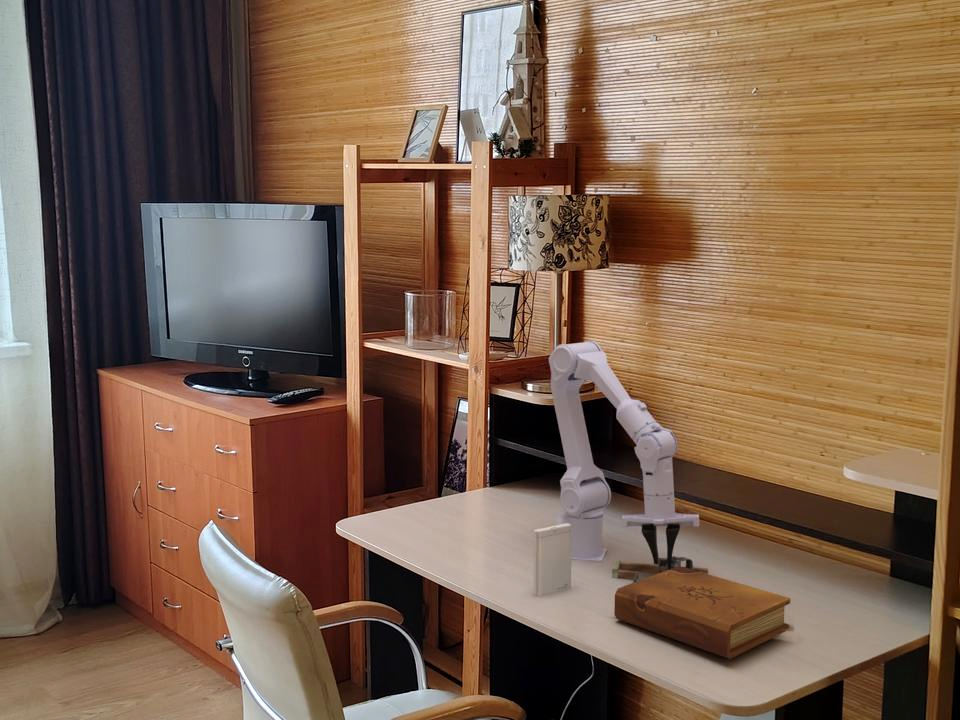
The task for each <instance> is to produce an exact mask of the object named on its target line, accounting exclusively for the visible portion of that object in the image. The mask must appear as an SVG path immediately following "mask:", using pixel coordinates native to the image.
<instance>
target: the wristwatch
mask: <svg viewBox="0 0 960 720" xmlns="http://www.w3.org/2000/svg"><path fill="white" fill-rule="evenodd" d="M679 561H681V562H685V566H684V567H685V568H689V569H692V570H693V568H694V567H695V566H694V564H693V563H694V562H693V560H692V559H690V558H687V557H685V556H679V557H678V556H673V555H672V563H671V564H667V562H666V571H667V570H669V569H672V568H675V567H677V566H678V562H679Z"/></svg>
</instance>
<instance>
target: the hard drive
mask: <svg viewBox="0 0 960 720" xmlns="http://www.w3.org/2000/svg"><path fill="white" fill-rule="evenodd" d="M571 589H572V559H571V524H568V523H566V524H561V525H557V524H555V525H552V526H547V527H543V528H537V529H534V530H533V595H534V596H535V597H537V598H538V597H543V596H547V595H551V594H556V593H559V592H563V591H567V590H571Z"/></svg>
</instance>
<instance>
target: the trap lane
mask: <svg viewBox="0 0 960 720" xmlns="http://www.w3.org/2000/svg"><path fill="white" fill-rule="evenodd" d="M658 558H659V562H658V564H654V563H651V564H650V563H637V562H626V561H625V562H623V561H622V559H615V561H614V564H613V566H612V571H611V575H612V577H611V578H614V579H620V580H627V581H632V583H634V582H637V581H639V580H642V579H643V578H642V579H641V578H639V577H640V576H639V575H640V574H639V573H644V574H645V573H648V574H653V575H656V574H658V573H661V572H664V571H666V562H667V557H666V558H665V557H658ZM681 562H682V561H679V562H678V566H681V564H682V563H681ZM693 567H694V568H693V570H695V571H699V572H702V573H706V574H709V568H707V567H706V568H705V567H695V566H693Z"/></svg>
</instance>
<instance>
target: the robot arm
mask: <svg viewBox="0 0 960 720" xmlns="http://www.w3.org/2000/svg"><path fill="white" fill-rule="evenodd" d="M607 355H608V354H606V352H604V351H603V349H602V347H601V346H600V345H599V344H598V343H597V342H596V341H593V340H587V341H584V342H575V343H568V344H566V343H561V344H558V345H556V347H554V349H553V350H552V352H551V354H550V355H549V357H548V364H549V367H550V368H549V369H550V373H551V375H550V390H551V391H550V392H551V394H552V399H553V400H552V401H553V405H554V411H555V414H556V415H555V416H556V420H557V424H558V425H557V426H558V430H559V434H560V438H561V445H562V449H563V455H564V460H565V464H566V472H564V474H563V475H562V476H561V479H560V480H559V482H560V483H559V484H560V495H559V497H560V498H559V501H560V504H561V507H562V509H563V510H564V511H562V512H561V511H560V512H558V515H557V519H556V525H561V524H566V523H568V524H571V560H580V561H587V562H597V563H602V562H603V560H604V558H605V556H606V553H607V548H603V545H604V513H605V512H606V507H607V506H608V505H610V502H611V499H612V491H611V488H610V486H609V484H608V482H607V481H606V479H605V475H604V472H603V470H601V469H600V468H599V467H598V466H596V465H595V464H594V458H593V454H592V450H591V449H592V448H591V445H590V440H589V434H588V430H587V426H586V420H585V415H584V410H583V405H582V402H581V396H580V391H579V389H580V388H581V387H582V385H583V383H584V382H585V381H591V382H592V383H593V384H594V385H595V386H596V387H597V388H598V389H599V391H600V392H601V393H602V394H603V395H604V396H605V398H606V399H608V401H609V402H610V403H611V404H612V405H613V407H614V408H615V409H616V416H615V417H616V420H617V421H618V423H619V424H620V425H621V426H622V428H623V429H624V430H625V432H626V433H627V434H628V436H629V437H630V438H631V440H632V441H633V442H634V443H635V444H636V446H634V447H633V449H634V453H635V455H636V457H637V459H638V460H639V464H640V469H641V470H642V482H643V485H642V486H643V499H644V500H643V501H644V503H643V504H644V513H640V514H623V515H622V517H621V522H622V523H621V524H622V525H621V526H622V528H628V527H641V530H640V531H641V534H642V536H643V537H644V539H645V542H646V543H647V545H648V547H649V551H650V553H651V556H652V560H653V564H654V565H656V564H658V562H659V558H660V557H659V551H658V550H659V549H658V538H657V535H658V534H657V527H666V528H665V535H666V536H665V537H666V550H667V551H666V558H667V564H671V563H672V557H673V553H674V552H673V551H674V547H675V543H676V540H677V537H678V535H679V532H680V529H681V527H684V526H685V527H689V526H690V527H695V528H696V527H700V515H699V514H697V513H695V514H691V513H677V512H676V509H675V508H676V506H675V502H676V501H675V489H674V488H675V487H674V468H673V467H674V466H673V457H674V456H675V455H676V454H677V451H678V447H679V445H678V440H677V437H676V436H675V434H674V432H673V431H672V430H670V429H668V428H664V427H663V426H662V425H661V424H660V423H659V422H657V420H656V419H655V418H654V417H653V416H652V414H651V413H650V412H649V411H648V408H647V407H648V406H647V405H646V404H645V402H642V401H641V400H639V399H633V398H631V397H630V395H629V394H628V391H626V389H625V388H624V386H623V385H622V383H621V382H620V380H619V378H618V377H617V376H616V375H615V372H614V370H612V368H611V367H610V365H609V364H608V356H607Z"/></svg>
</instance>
